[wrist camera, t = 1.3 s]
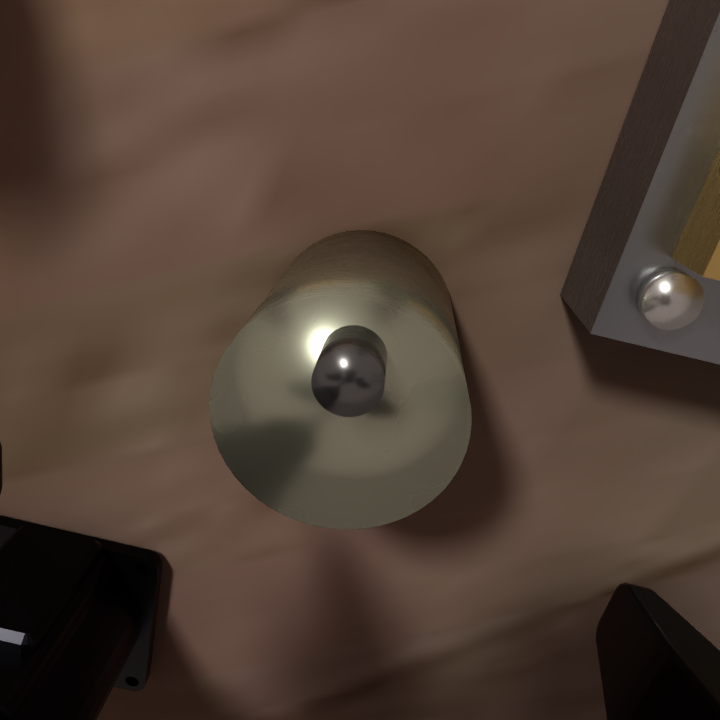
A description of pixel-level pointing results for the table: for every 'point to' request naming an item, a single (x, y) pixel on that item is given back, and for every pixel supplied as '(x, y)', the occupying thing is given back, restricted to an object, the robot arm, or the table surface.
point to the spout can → (346, 387)
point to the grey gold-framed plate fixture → (661, 202)
